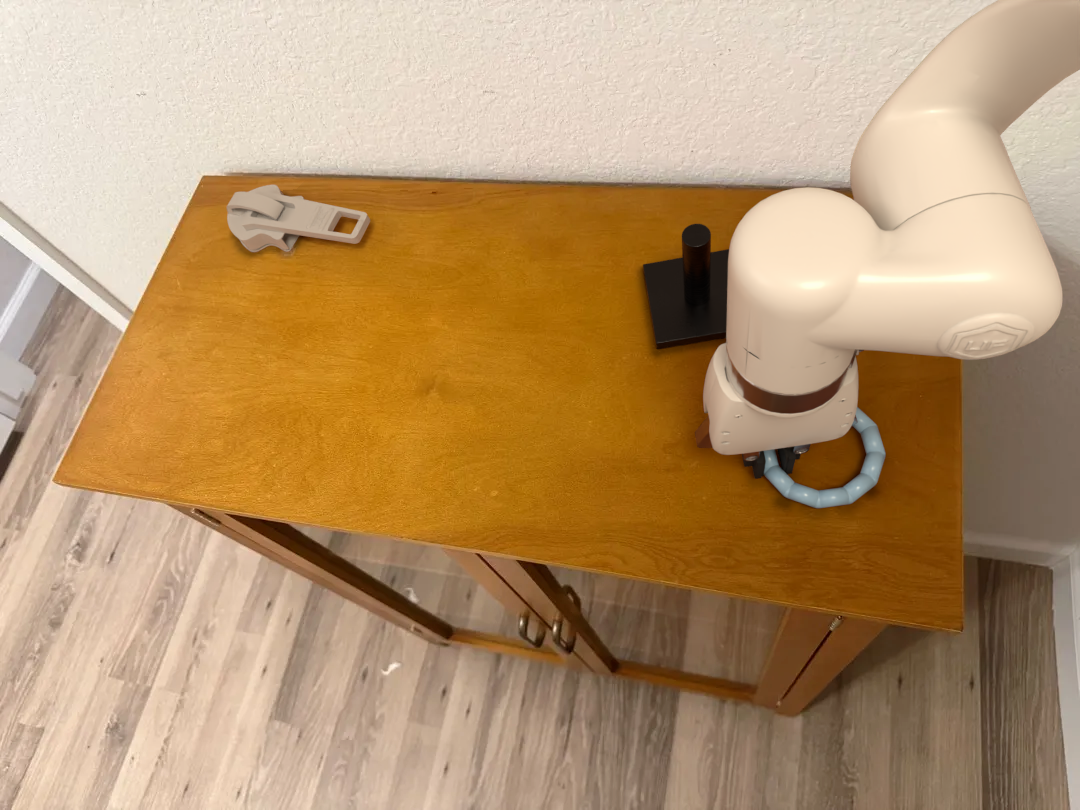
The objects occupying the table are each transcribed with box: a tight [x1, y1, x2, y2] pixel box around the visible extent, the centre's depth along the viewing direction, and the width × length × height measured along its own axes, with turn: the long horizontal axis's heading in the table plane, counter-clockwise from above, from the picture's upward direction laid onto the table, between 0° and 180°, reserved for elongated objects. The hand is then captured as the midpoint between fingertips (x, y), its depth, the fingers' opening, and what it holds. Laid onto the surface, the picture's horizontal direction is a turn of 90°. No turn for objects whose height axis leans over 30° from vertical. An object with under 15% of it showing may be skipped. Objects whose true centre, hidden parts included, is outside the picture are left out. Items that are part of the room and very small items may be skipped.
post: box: [642, 223, 729, 350], centre depth 69 cm, size 9×9×10 cm
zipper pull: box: [226, 184, 371, 253], centre depth 85 cm, size 8×18×4 cm, turn 70°
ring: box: [763, 406, 887, 509], centre depth 64 cm, size 10×10×1 cm
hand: (769, 459), depth 65 cm, fingers closed on ring, 1 cm apart
